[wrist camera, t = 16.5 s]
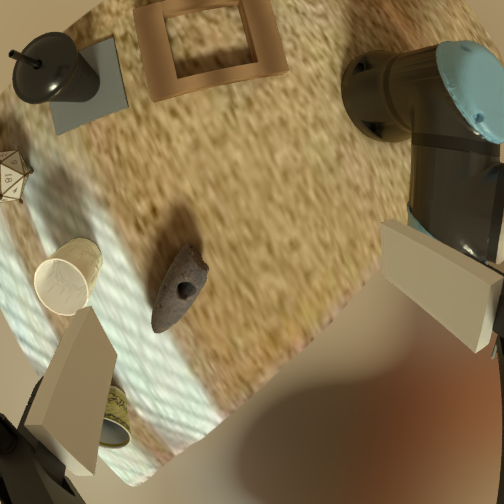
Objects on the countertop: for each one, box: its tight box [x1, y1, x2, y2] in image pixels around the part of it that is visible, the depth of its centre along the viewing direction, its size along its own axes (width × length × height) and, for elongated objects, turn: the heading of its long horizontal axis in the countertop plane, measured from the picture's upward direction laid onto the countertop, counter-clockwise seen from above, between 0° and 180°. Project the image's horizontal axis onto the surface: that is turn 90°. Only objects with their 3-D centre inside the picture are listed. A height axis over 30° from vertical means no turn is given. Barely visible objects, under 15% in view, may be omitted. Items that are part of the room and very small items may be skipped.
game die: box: [0, 144, 34, 204], centre depth 32 cm, size 9×8×10 cm
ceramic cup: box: [99, 385, 131, 449], centre depth 46 cm, size 13×10×10 cm
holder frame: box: [133, 0, 289, 103], centre depth 33 cm, size 18×14×3 cm
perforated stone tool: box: [151, 242, 209, 333], centre depth 43 cm, size 15×5×7 cm, turn 146°
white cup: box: [34, 238, 103, 316], centre depth 37 cm, size 8×8×10 cm
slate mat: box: [50, 38, 129, 135], centre depth 33 cm, size 11×11×1 cm
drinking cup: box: [9, 32, 100, 104], centre depth 24 cm, size 8×8×20 cm
